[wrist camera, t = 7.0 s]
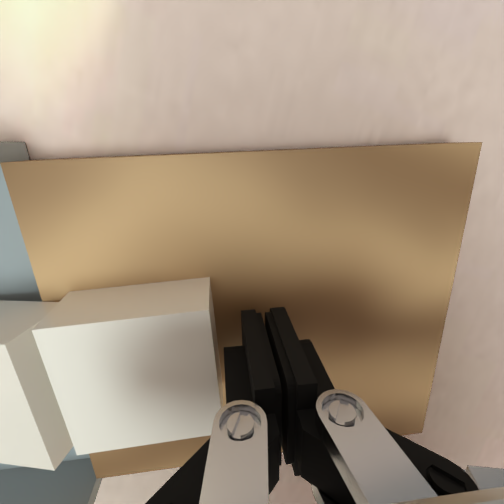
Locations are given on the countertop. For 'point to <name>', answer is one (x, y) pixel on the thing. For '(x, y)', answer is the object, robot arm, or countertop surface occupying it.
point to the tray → (25, 289)
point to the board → (268, 253)
